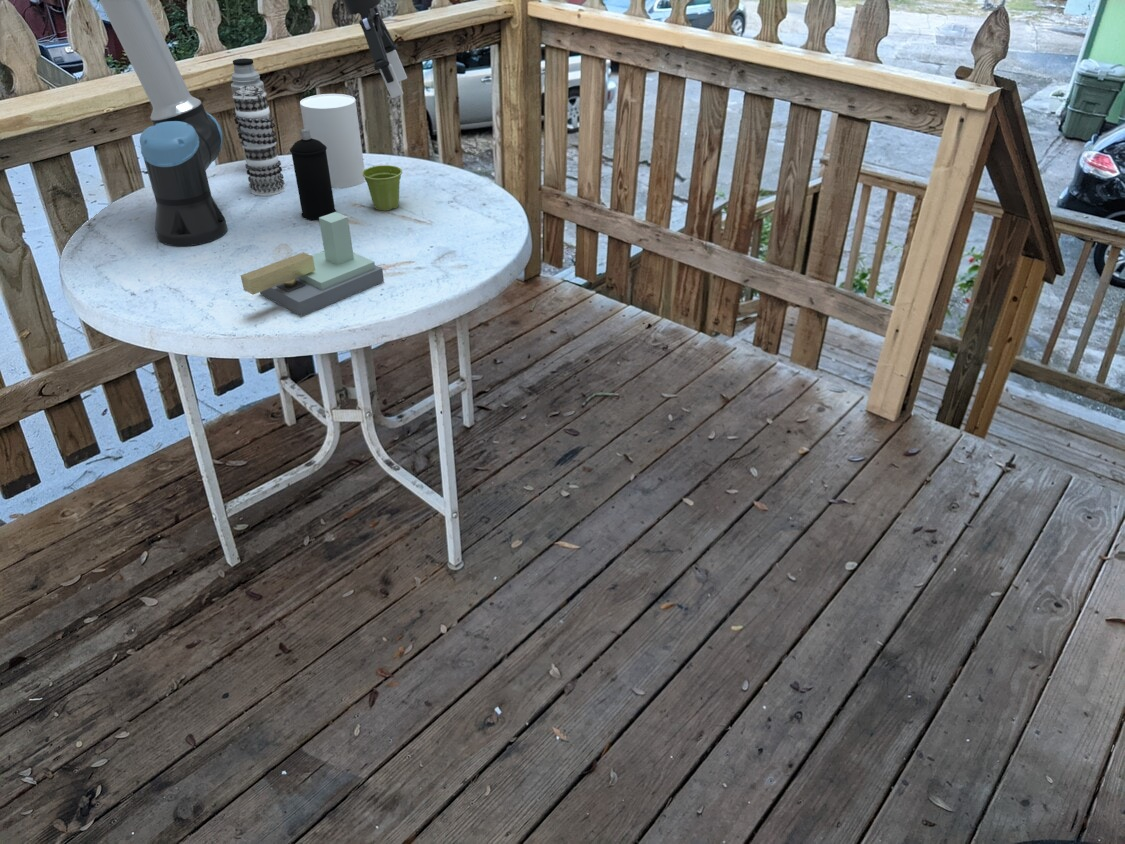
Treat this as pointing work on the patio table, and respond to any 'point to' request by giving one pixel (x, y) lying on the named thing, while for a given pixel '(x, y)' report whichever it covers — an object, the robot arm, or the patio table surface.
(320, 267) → the cover
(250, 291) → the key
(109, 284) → the patio table surface
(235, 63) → the thermos bottle
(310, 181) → the aerosol can
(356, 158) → the canister
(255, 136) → the decorative candle
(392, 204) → the plant pot
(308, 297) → the plate
